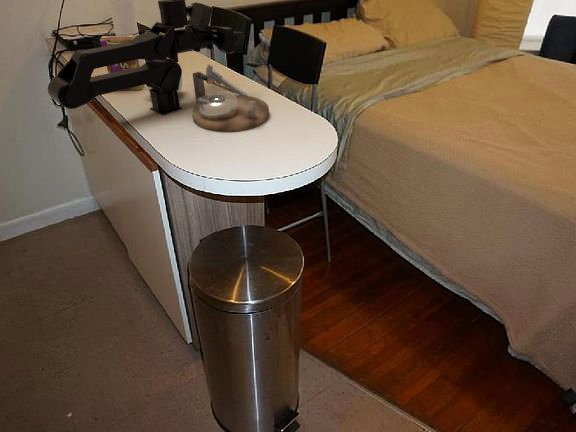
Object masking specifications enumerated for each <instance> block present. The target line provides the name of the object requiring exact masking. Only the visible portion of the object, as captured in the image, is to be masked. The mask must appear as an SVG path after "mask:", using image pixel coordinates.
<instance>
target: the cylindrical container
mask: <svg viewBox="0 0 576 432" xmlns="http://www.w3.org/2000/svg"><path fill="white" fill-rule="evenodd" d="M107 1H108V7H109V10H110V14H111V19H112V23H113V29H114V34H115V36H122V35H133V36H134V38H135V37H136V36H138V35H140V34H139V28H138V24H137V17H136V12H135V7H134V3H133V2H134V1H133V0H107ZM138 60H139V65H140V67H141V66H142V65H144V64H145V63H146V62H145V59H138Z"/></svg>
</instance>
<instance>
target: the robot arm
mask: <svg viewBox="0 0 576 432" xmlns="http://www.w3.org/2000/svg"><path fill="white" fill-rule="evenodd" d="M157 4H158V9H159V14H160V21H161V22H159V21H156V22H155V23H154V24H153V25H152V26H151V28H150V29H149V30H148V31H147V32H146V31H145V32H143V33H141V34H139V35H138V36H136V37H135V38H134V39H132V40H130V41H128V42H124V43H119V44H114V45H109V46H104V47H102V46H99V47H94V48H90V49H89V48H88V49H85V50H84V49H83V50H82V49H79V50H75V51H74V52H73V53H72V55H71V57H70V58H69V60H68V61H67V62H66V63H65V64H64V66H63V67H61V68H60V70H59V71H58V73H57V74H56V77H53V78H51V79H50V81H49V83H48V85H47V93H48V95H49V97H50V98H51V99H52V100H53V101H55V102H56V103H58V104H59V105H61V106H63V107H64V108H66V109H69V110H75V109H78V108H80V107H83V106H84V105H87V104H89V103H90V102H92V101H93V100H94V99H95V98H96V97H99V96H103V95H109V94H111V93H115V92H121V91H120V90H123V91H125V90H124V89H129V88H133V87H137V86H141V85H144V86H146V85H147V86H148V87H150V88H152V89H150V92H149V95H150V100H151V104H152V107H150V110H151V111H153V112H155V113H157V114H159V115H161V116H165V115H167V114H171V113H174V112H178V111H180V110H182V109H183V107H181V104H180V103H181V102H180V97H179V94H178V92H177V91H176V90H178V89H179V83H180V78H181V75H182V74H183V70H182V67H181V65H180V64H179V55H178V54H182V53H188V52H197V53H198V52H201V50H203V49H207V50H213V49H214V46H213V44H214V43H215V42H217V43H216V44H217V49H218V51H219V52H221V53H224V54H227V55H230V54H234V53H235V50H236V49H235V48H236V46H237V45H238V44H239V43H240V42H241V41H242V40H243V39H244V38H245V34H246V33H245V32H244V31H234V29H233V28H232V27H229V26H218V25H217V26H215V25H210V23H211V18H212V14H213V11H214V9H213V7H212V6H209V5H207V4H204V3H201V2H193V3H191V4H190V5H187V4H186V0H157ZM162 34H163V35H162ZM136 59H144V63H145V64H144V65H142V66H141V67H137V68H132V69H127V70H123V71H118V72H113V73H108V72H107V73H104V74H99V75H95V76H92V74H93V72H94V70H96V69H100V68H105V67H107V66H110V65H114V64H119V63H123V62H127V61H132V60H136ZM182 76H183V75H182ZM147 86H146V87H147Z"/></svg>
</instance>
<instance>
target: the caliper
mask: <svg viewBox="0 0 576 432" xmlns="http://www.w3.org/2000/svg"><path fill="white" fill-rule="evenodd" d="M213 68H214V65H211V64H207V67H206V70H205V72H206V73H205V75H207V76H210V77H211V83H210V84H215V83H217V84H218V85H221V84H222V85H223V86H225V87H226V88H227V89H229V91H232V92H233V93H235V95H241V96H248V94H247V92H245V91H243V90H242V89H240V88H239V87H238V86H236V85H235V84H233V83H231V82H230V81H228V80H227V79H226V78H224V77H223V75H222V74H221V73H219V72H218V71H216V70H215V69H213Z"/></svg>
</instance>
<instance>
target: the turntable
mask: <svg viewBox="0 0 576 432" xmlns="http://www.w3.org/2000/svg"><path fill="white" fill-rule="evenodd" d="M233 95H234V94H233ZM234 96H236V97H237V102H238V114H237V115H236V116H235V117H233V118H231V119H227V120H221V121H211V120H206V119H203V118H201V117H200V116H199V110H198V104H195V105H194V106H193V108H192V110H191V113H192V120H193V123H194V124H195V125H197V126H198V127H200V128H201V129H205V130H208V131H213V132H222V133H229V132H230V133H231V132H240V131H247V130H251V129H254V128H257V127H258V126H259V127H260V126H261V125H263V124H264V123H266V121H267V120H268V119H269V117H270V109H269V104H268V103H267V102H266V101H265V100H263V99H260V98H258V97H254V96H249V95H247V96H241V95H238V94H235V95H234Z"/></svg>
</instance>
